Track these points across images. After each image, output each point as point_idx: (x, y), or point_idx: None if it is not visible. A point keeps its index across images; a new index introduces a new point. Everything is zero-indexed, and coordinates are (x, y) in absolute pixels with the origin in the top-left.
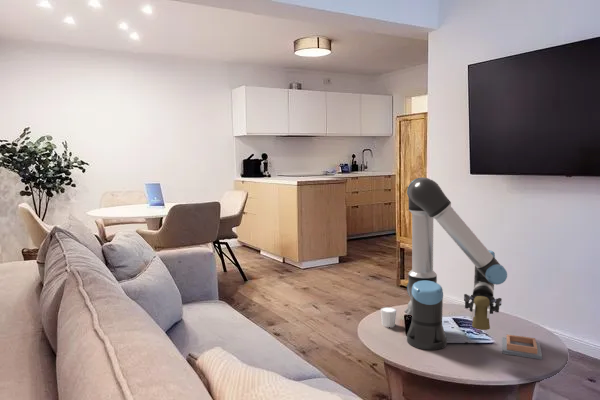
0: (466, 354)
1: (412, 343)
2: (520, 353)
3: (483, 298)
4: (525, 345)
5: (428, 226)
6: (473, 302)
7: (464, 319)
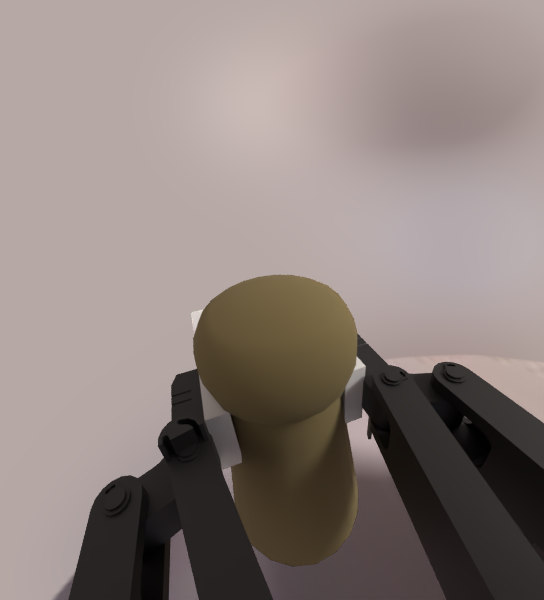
0: (385, 589)
1: None
2: None
3: (242, 286)
4: None
5: None
6: (391, 395)
7: None
